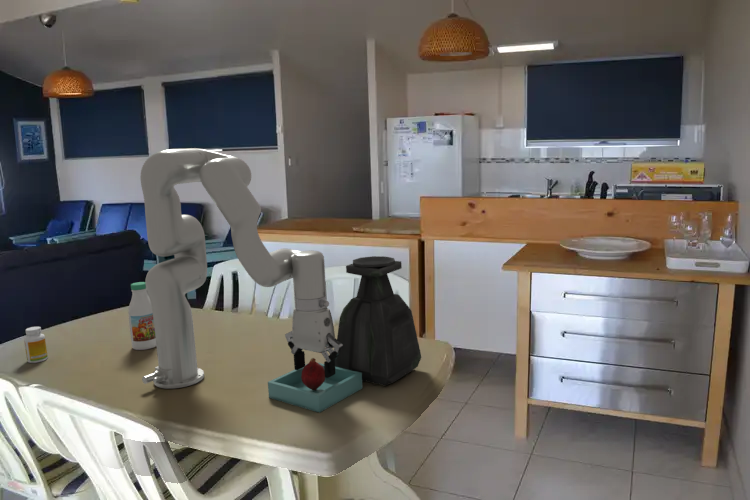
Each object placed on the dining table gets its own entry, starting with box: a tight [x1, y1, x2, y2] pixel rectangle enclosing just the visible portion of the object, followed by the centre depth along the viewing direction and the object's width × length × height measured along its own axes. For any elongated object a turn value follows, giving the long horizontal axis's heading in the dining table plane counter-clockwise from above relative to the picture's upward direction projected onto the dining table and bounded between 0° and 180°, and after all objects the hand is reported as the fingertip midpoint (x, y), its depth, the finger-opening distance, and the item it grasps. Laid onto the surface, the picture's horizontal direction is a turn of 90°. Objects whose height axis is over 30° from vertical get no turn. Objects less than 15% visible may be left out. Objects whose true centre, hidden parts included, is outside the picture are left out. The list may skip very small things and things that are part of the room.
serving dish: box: [267, 362, 363, 413], centre depth 149 cm, size 16×16×4 cm
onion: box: [301, 357, 325, 390], centre depth 149 cm, size 6×6×8 cm
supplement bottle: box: [23, 326, 49, 364], centre depth 181 cm, size 5×5×10 cm
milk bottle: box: [127, 281, 157, 351], centre depth 189 cm, size 8×8×20 cm
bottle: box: [335, 255, 422, 387], centre depth 158 cm, size 18×16×30 cm
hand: (314, 372), depth 149 cm, fingers open, 9 cm apart
